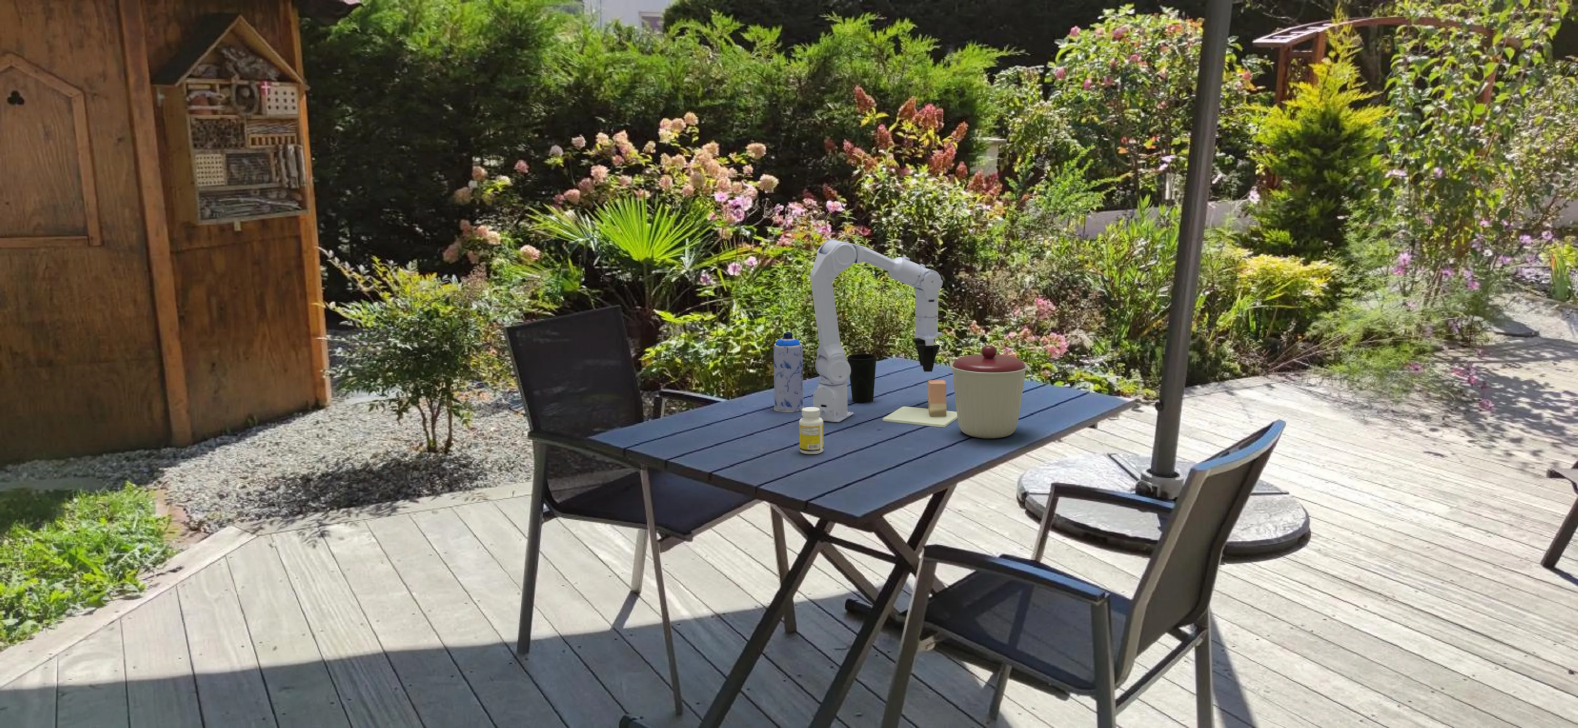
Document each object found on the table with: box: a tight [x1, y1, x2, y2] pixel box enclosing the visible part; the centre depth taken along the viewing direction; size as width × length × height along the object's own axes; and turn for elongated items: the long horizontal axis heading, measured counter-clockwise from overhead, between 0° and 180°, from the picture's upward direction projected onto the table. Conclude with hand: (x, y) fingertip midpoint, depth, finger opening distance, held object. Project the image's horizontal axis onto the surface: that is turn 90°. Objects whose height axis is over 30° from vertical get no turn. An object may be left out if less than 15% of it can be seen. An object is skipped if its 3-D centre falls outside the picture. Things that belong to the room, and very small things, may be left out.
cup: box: [846, 352, 877, 404], centre depth 300 cm, size 8×8×12 cm
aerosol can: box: [773, 331, 805, 413], centre depth 292 cm, size 8×8×20 cm
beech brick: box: [927, 400, 948, 417], centre depth 283 cm, size 4×4×3 cm
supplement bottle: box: [798, 406, 825, 455], centre depth 253 cm, size 5×5×10 cm
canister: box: [949, 344, 1029, 439], centre depth 265 cm, size 18×18×21 cm
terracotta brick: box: [927, 379, 947, 404], centre depth 282 cm, size 4×4×5 cm
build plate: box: [882, 405, 958, 428], centre depth 283 cm, size 14×16×1 cm
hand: (926, 368), depth 291 cm, fingers open, 7 cm apart
